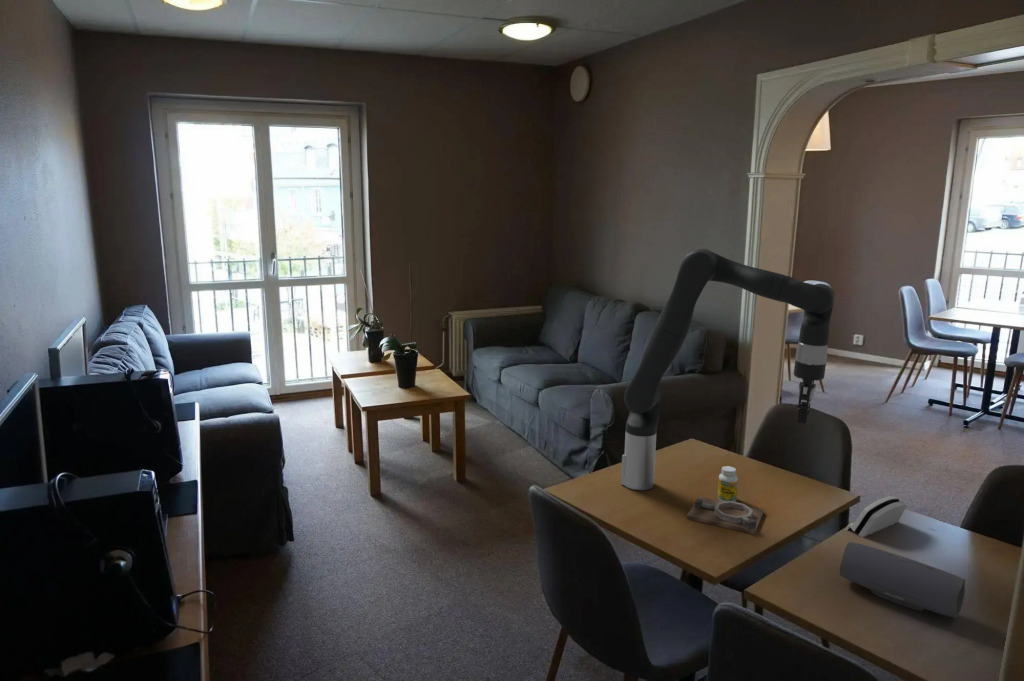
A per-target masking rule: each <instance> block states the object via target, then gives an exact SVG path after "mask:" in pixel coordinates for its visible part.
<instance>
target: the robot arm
mask: <svg viewBox="0 0 1024 681" xmlns="http://www.w3.org/2000/svg"><path fill="white" fill-rule="evenodd" d="M708 282H718V283H724V284H728V285H732V286H735V287H737V288H740V289H743V290H745V291H747V292H748V293H752V294H754V295H757V296H760V297H762V298H765V299H766V298H767V299H769V300H773V301H775V302H777V301H778V302H779V303H786V304H788V305H791V306H793V307H796V308H798V309H801V310H803V319H802V323H801V325H800V328H799V335H798V344H797V347H796V352H795V359H794V368H793V376H794V377H795V378H798V379H801V380H802V381H800V382H799V384H798V395H797V401H798V402H797V409H798V413H797V421H796V422H797V423H798V424H802V425H805V424H806V423H807V419H808V416H809V415H810V410H811V409H810V408H811V403H812V401H813V397H814V396H815V391H816V389H817V388H816V386H817V384H816V383H815V381H817V382H819V381H822V380H824V378H825V374H826V366H827V360H828V359H827V358H828V346H829V338H830V337H829V336H830V322H831V318H832V313H833V308H834V303H835V302H834V301H835V293H834V291H833V289H832V287H830V286H829V285H827V284H825V283H816V284H814V283H813V284H812V283H809V282H804V281H801V280H797V279H796V278H794V277H792V276H789V275H787V274H782V273H779V272H775V271H771V270H766V269H762V268H759V267H754V266H751V265H746V264H743V263H740V262H737V261H734V260H731V259H728V258H726V257H724V256H722V255H721V254H720V255H719V254H718V253H715V252H713V251H711V250H709V249H706V248H698V249H695V250H692V251H690V252H688V253H687V254H686V255H684V257H683V259H682V261H681V262H680V265H679V269H678V273H677V276H676V279H675V282H674V285H673V288H672V291H671V293H670V295H669V297H668V299H667V301H666V303H665V305H664V306H663V309H662V310H661V312H660V315H659V317H658V319H657V320H656V323H655V324H654V327H653V330H652V332H651V333H650V334H651V335H650V336H649V340H648V341H647V342H648V343H647V345H646V347H645V350H644V353H643V356H642V359H641V361H640V364H639V366H638V368H637V370H636V372H635V374H634V376H632V379H631V381H630V382H629V384H628V385H627V388H626V389H625V391H624V394H623V396H624V397H623V400H624V405H625V407H626V408H627V409H628V411H629V413H628V416H627V420H626V422H625V433H624V434H625V438H624V453H623V454H622V456H621V476H620V477H621V478H620V484H621V485H622V486H625V487H626V488H627V489H630V490H633V491H634V490H635V491H647V490H648V491H649V490H651V489H652V488H654V484H655V466H656V450H657V449H656V448H657V431H658V430H657V429H658V425H659V421H660V413H661V412H660V411H661V399H662V395H661V394H662V393H661V388H660V386H659V385H660V383H661V381H662V379H663V377H664V375H665V373H666V371H667V370H668V369H669V367H670V366H671V365H672V363H673V362H674V360H675V359H676V357H677V355H678V354H679V353H680V350H681V349H682V347H683V345H684V343H685V340H686V338H687V336H688V333H689V331H690V328H691V324H692V321H693V317H694V316H693V314H694V311H695V307H696V303H697V301H698V299H699V297H700V295H701V293H702V292H703V290H704V289H705V287H706V285H707V283H708Z"/></svg>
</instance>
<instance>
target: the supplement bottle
mask: <svg viewBox="0 0 1024 681" xmlns="http://www.w3.org/2000/svg"><path fill="white" fill-rule="evenodd" d="M738 482H739V478H738V476H737V469H736V468H735V467H733V466H728V465H726V466H724V465H723V466H722V467H721V473H720V474H719V475H718V482H717V483H718V486H717V500H720V501H725V502H726V501H732V502H737V499H738V498H737V496H738V484H739V483H738Z"/></svg>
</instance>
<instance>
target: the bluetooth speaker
mask: <svg viewBox="0 0 1024 681" xmlns="http://www.w3.org/2000/svg"><path fill="white" fill-rule="evenodd" d="M839 574H840V577H842V578H844V579H847V580H848V581H851V582H853V583H855V584H858V585H860V586H863V587H864V588H867V589H869V590H871V593H872V594H874V595H875V596H878V597H879V598H882V599H885V600H887V601H890V602H893V603H896V604H898V605H901V606H904V607H907V608H909V609H912V610H915V611H919V612H922V611H924V610H927V611H930V612H934V613H936V614H939V615H942V616H947V617H950V618H954V619H957V617H958V615H959V613H960V612H961V609H962V606H963V603H964V598H965V595H966V594H965V593H966V585H965V584H966V579H964V578H962V577H960V576H957V575H956V574H953V573H951V572H948V571H945V570H942V569H940V568H937V567H934V566H932V565H930V564H926V563H923V562H920V561H917V560H914V559H911V558H908V557H906V556H903V555H898V554H896V553H893V552H889V551H887V550H883V549H879V548H877V547H874V546H869V545H866V544H863V543H858V542H853V541H849V542H847V543H846V546H845V548H844V552H843V555H842V558H841V562H840V565H839Z"/></svg>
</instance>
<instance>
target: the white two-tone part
mask: <svg viewBox="0 0 1024 681" xmlns="http://www.w3.org/2000/svg"><path fill="white" fill-rule="evenodd" d="M906 509H907V504H906V503H905V502H903V501H900V498H898V497H897V496H894V495H893V496H892V495H889V496H884V497H882V498H880V499H877V500H876V501H874V502H872V503H871V504H869V505H868V506H865V508H863V509H862V511H861V512H860V514H859V515H858V517H857V518H856V519H855V521H854V522H851V523H848V524H847V526H846V528H845V531H849V530H852V531H853V532H858V536H861V538H865V537H868V536H870V535H872V534H874V532H875V533H877V532H879V531H882V530H884V529H886V528H888V526H889V527H891V526H894V525H896V524H898V523H899V521H900V519H901V517H902V516H903V514H904V512H905V510H906ZM897 522H898V523H897ZM853 523H854V524H853ZM895 523H896V524H895ZM890 525H891V526H890ZM885 527H886V528H885ZM850 528H851V529H850ZM883 528H884V529H883ZM848 529H849V530H848ZM881 529H882V530H881ZM876 531H877V532H876ZM869 534H870V535H869ZM867 535H868V536H867Z"/></svg>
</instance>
